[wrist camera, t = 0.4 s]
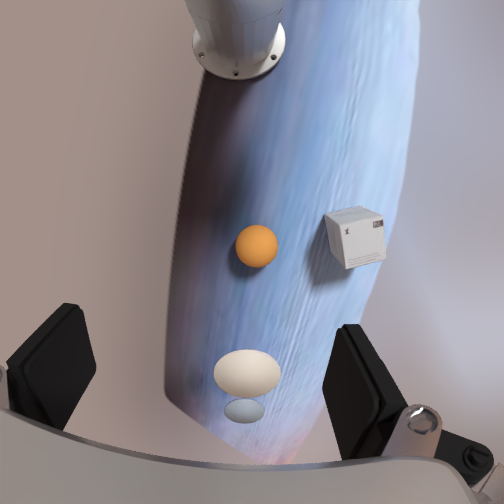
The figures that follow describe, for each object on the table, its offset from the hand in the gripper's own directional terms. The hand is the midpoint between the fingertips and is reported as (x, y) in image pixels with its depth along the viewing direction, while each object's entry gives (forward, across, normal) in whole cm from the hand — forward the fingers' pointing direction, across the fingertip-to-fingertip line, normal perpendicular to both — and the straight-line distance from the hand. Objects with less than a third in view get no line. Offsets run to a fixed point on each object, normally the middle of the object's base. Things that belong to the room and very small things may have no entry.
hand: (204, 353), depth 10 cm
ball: (+29, -3, +5) cm, 30 cm away
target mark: (+32, -3, +30) cm, 44 cm away
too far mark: (+32, -4, +40) cm, 52 cm away
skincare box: (+32, -16, +2) cm, 36 cm away
